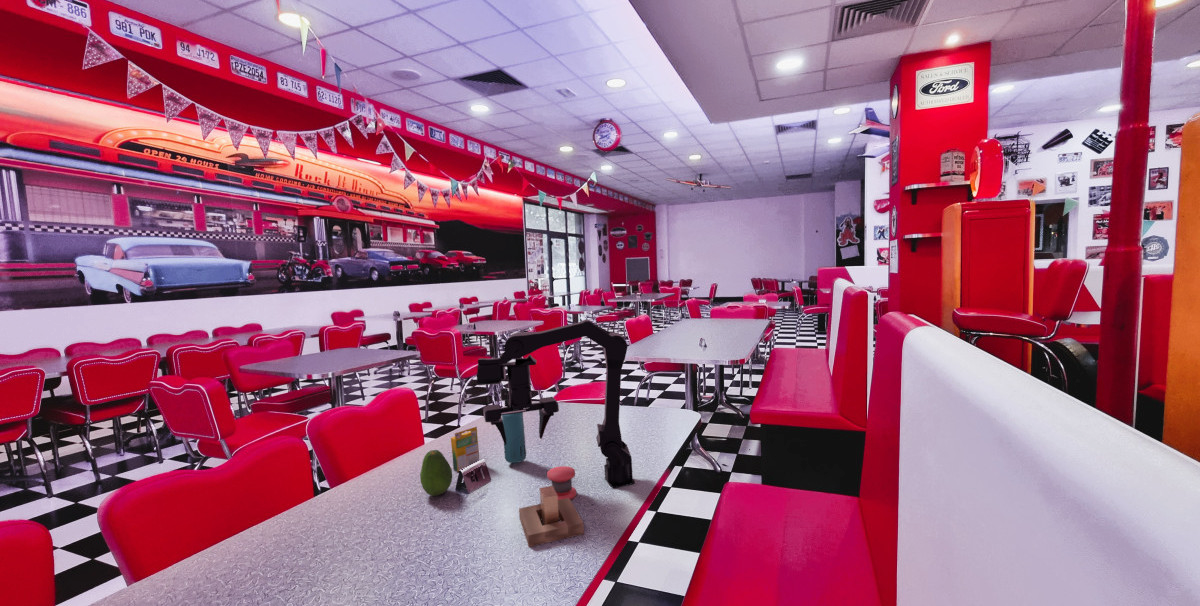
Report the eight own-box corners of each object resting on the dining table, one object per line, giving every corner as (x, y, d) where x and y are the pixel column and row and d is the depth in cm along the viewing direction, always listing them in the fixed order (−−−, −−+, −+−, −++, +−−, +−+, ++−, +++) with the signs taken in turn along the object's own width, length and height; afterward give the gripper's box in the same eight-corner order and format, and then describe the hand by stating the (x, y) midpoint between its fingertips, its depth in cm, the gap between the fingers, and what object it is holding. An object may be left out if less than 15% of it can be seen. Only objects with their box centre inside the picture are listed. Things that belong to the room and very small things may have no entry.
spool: (572, 486, 125) (570, 464, 124) (579, 498, 118) (578, 475, 118) (546, 491, 123) (544, 469, 122) (552, 504, 116) (550, 480, 116)
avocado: (415, 498, 123) (411, 453, 122) (437, 485, 130) (434, 442, 129) (438, 504, 119) (434, 457, 118) (460, 490, 126) (457, 446, 125)
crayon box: (475, 461, 145) (472, 424, 144) (480, 464, 143) (477, 426, 142) (452, 469, 140) (449, 431, 139) (457, 472, 137) (454, 433, 136)
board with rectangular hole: (569, 507, 114) (568, 497, 114) (583, 533, 103) (583, 522, 102) (519, 518, 110) (518, 508, 110) (528, 547, 99) (528, 535, 99)
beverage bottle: (522, 468, 138) (518, 401, 136) (501, 467, 139) (496, 400, 138) (530, 459, 144) (526, 394, 143) (509, 458, 146) (505, 394, 144)
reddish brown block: (554, 519, 109) (552, 485, 109) (559, 530, 104) (557, 495, 104) (541, 521, 108) (539, 488, 108) (546, 533, 104) (543, 498, 103)
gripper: (548, 371, 133) (551, 426, 134) (479, 380, 127) (483, 437, 128) (557, 380, 122) (560, 439, 124) (483, 390, 116) (487, 451, 118)
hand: (523, 441), depth 124 cm, fingers open, 9 cm apart
